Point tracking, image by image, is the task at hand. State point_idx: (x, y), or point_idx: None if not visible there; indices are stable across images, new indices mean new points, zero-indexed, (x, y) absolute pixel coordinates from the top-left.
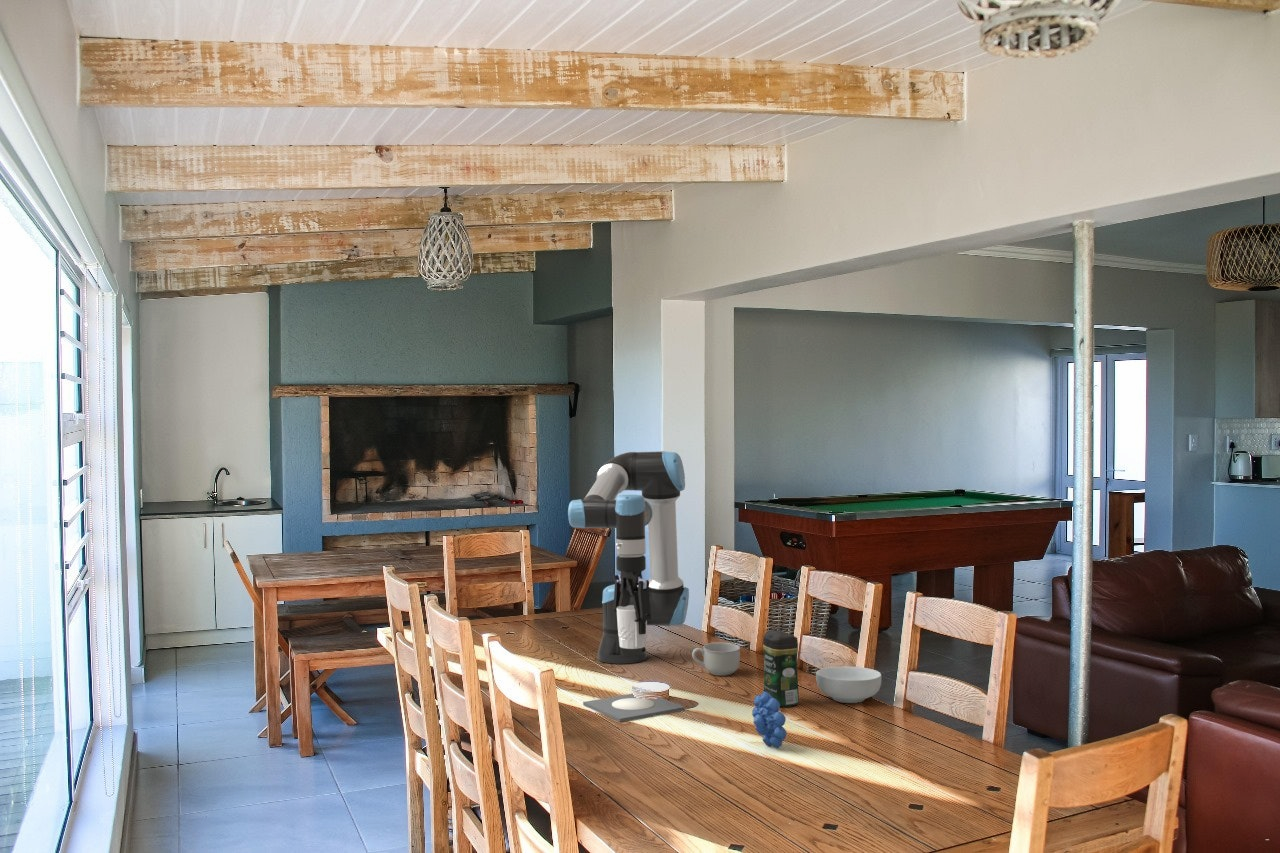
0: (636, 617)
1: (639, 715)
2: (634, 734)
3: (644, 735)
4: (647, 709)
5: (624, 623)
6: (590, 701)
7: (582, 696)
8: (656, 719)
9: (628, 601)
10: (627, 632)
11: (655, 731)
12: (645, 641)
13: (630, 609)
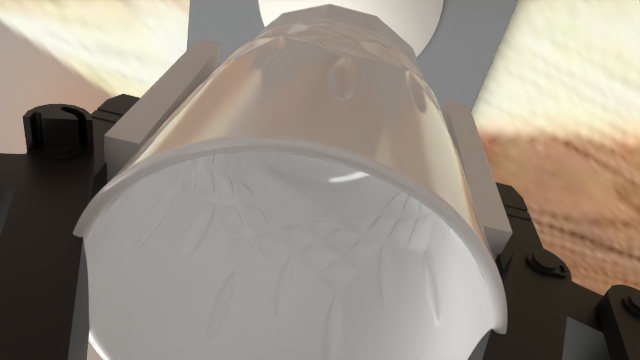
0: None
1: (477, 93)
2: (573, 218)
3: (609, 208)
4: (452, 14)
5: (345, 324)
6: None
7: (74, 14)
8: (540, 55)
9: (75, 302)
10: (367, 255)
11: (621, 161)
12: (473, 125)
13: (130, 189)
